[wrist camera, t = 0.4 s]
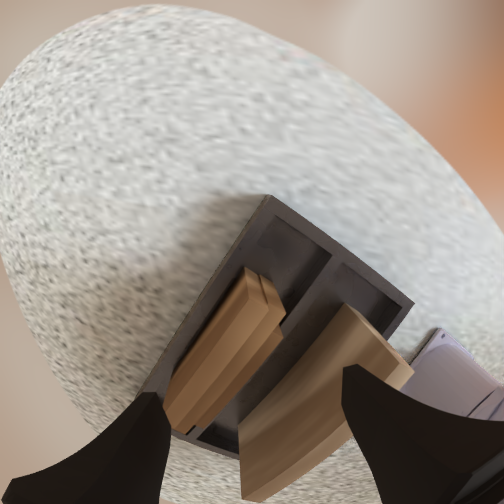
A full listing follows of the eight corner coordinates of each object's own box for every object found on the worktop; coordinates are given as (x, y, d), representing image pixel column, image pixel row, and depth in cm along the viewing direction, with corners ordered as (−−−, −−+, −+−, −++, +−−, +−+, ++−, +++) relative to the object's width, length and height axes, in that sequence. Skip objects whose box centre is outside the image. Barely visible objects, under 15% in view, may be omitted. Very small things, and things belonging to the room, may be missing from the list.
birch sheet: (358, 311, 20) (415, 371, 12) (252, 430, 22) (259, 502, 14) (344, 302, 19) (399, 363, 12) (237, 425, 21) (241, 499, 14)
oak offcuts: (286, 291, 19) (306, 329, 14) (204, 397, 20) (199, 447, 15) (245, 265, 18) (250, 297, 13) (167, 378, 20) (153, 428, 15)
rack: (400, 293, 20) (414, 303, 18) (258, 449, 23) (259, 466, 21) (267, 194, 18) (271, 194, 16) (135, 397, 21) (128, 413, 19)
